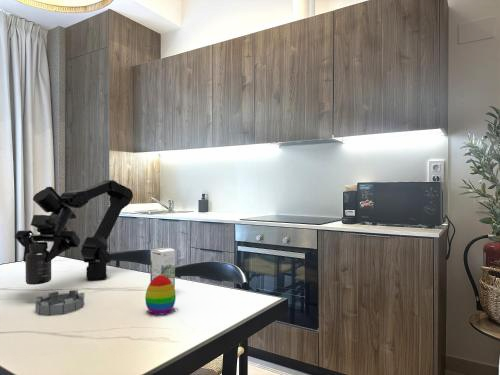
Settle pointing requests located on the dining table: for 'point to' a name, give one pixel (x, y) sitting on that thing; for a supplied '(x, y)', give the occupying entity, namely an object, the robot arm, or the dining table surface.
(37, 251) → the supplement bottle
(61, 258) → the dining table surface
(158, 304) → the decorative egg
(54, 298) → the grey segmented ring
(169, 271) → the syrup box
